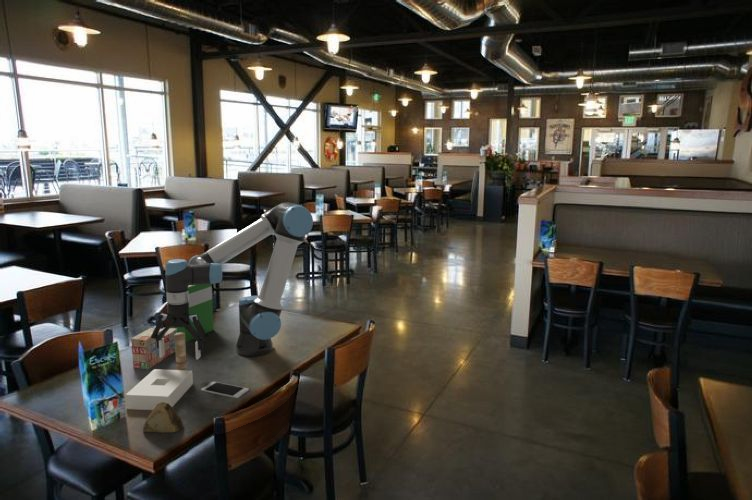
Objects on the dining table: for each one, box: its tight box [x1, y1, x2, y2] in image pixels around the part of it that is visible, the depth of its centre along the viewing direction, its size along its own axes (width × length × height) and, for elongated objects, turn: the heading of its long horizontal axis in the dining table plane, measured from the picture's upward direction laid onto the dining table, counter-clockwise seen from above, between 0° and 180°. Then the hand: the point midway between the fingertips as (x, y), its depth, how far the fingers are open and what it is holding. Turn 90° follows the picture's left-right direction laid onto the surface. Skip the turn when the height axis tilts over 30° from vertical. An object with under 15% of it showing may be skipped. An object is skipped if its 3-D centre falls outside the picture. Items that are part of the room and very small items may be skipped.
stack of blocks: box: [131, 327, 178, 370], centre depth 210 cm, size 21×6×12 cm, turn 168°
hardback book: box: [171, 284, 214, 343], centre depth 236 cm, size 18×7×24 cm, turn 156°
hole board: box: [125, 368, 194, 411], centre depth 179 cm, size 14×20×5 cm
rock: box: [142, 402, 185, 433], centre depth 158 cm, size 11×9×10 cm
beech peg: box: [174, 332, 188, 370], centre depth 195 cm, size 4×4×16 cm
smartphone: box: [200, 381, 250, 399], centre depth 185 cm, size 7×15×1 cm, turn 69°
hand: (180, 357), depth 195 cm, fingers open, 13 cm apart
